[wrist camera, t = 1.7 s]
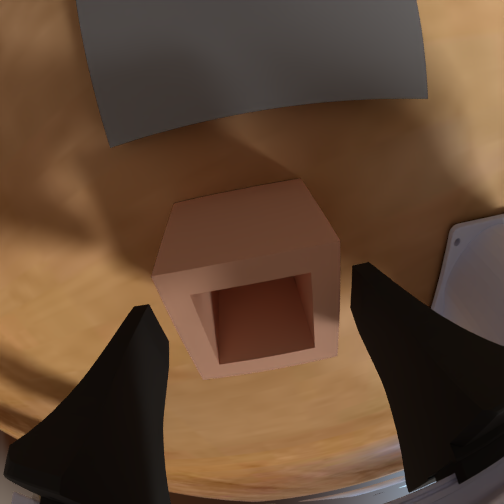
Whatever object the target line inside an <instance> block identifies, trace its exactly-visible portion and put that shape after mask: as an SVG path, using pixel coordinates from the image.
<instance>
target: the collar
mask: <svg viewBox="0 0 504 504" xmlns="http://www.w3.org/2000/svg"><path fill="white" fill-rule="evenodd" d="M151 277H152V280H153V282H154V284H155V286H156V288H157V291H158V293H159V295H160V297H161V299H162V301H163V303H164V305H165V308H166V310H167V312H168V314H169V316H170V318H171V320H172V322H173V324H174V326H175V328H176V330H177V332H178V334H179V336H180V338H181V340H182V342H183V344H184V345H185V347H186V349H187V351H188V353H189V355H190V357H191V359H192V360H193V362H194V364H195V366H196V368H197V370H198V371H199V373H200V375H201V377H202V379H203V380H205V379H214V378H222V377H229V376H236V375H243V374H249V373H256V372H262V371H267V370H273V369H279V368H284V367H289V366H294V365H299V364H304V363H309V362H313V361H318V360H322V359H327V358H331V357H335V356H337V353H338V336H339V313H340V239H339V238H338V236H337V234H336V233H335V231H334V229H333V228H332V226H331V225H330V223H329V221H328V220H327V218H326V217H325V215H324V213H323V212H322V210H321V209H320V207H319V206H318V204H317V202H316V201H315V199H314V198H313V196H312V195H311V193H310V192H309V190H308V189H307V187H306V186H305V184H304V182H303V181H302V179H301V178H300V179H294V180H288V181H282V182H276V183H271V184H265V185H260V186H254V187H249V188H244V189H239V190H234V191H229V192H224V193H219V194H214V195H209V196H205V197H200V198H195V199H191V200H186V201H182V202H178V203H174V205H173V208H172V211H171V214H170V217H169V220H168V223H167V226H166V229H165V232H164V235H163V238H162V242H161V245H160V248H159V251H158V255H157V258H156V261H155V265H154V268H153V272H152V275H151Z"/></svg>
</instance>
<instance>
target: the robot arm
mask: <svg viewBox="0 0 504 504" xmlns="http://www.w3.org/2000/svg"><path fill="white" fill-rule="evenodd" d="M350 308H351V311H352V314H353V317H354V320H355V323H356V326H357V329H358V331H359V334H360V336H361V338H362V340H363V342H364V344H365V346H366V349H367V351H368V353H369V355H370V357H371V359H372V361H373V363H374V366H375V368H376V370H377V372H378V374H379V376H380V379H381V381H382V383H383V386H384V389H385V391H386V395H387V398H388V401H389V404H390V408H391V411H392V415H393V419H394V422H395V426H396V430H397V435H398V439H399V444H400V449H401V453H402V459H403V466H404V472H405V480H406V485H407V488H408V492H412V491H414V490H417V489H419V488H422V487H424V486H426V485H428V484H430V483H432V482H435V481H436V483H434V484H431V485H429V486H427V487H425V488H423V489H420V490H418V491H416V492H413V493H411V494H408V495H406V496H404V497H401V498H398V499H396V500H393V501H390V502H387V503H384V504H504V214H500V215H496V216H491V217H487V218H482V219H477V220H473V221H468V222H464V223H459V224H456V225H454V226H453V227H452V228H451V229H450V232H449V236H448V241H447V246H446V251H445V256H444V260H443V264H442V269H441V273H440V277H439V281H438V285H437V288H436V292H435V296H434V299H433V303H432V306H431V308H429V307H428V306H426V305H425V304H423V303H422V302H421V301H419V300H418V299H416V298H415V297H414V296H412V295H411V294H409V293H408V292H407V291H405V290H404V289H403V288H401V287H400V286H399V285H398V284H396V283H395V282H394V281H392V280H391V279H390V278H388V277H387V276H386V275H385V274H383V273H382V272H381V271H380V270H378V269H377V268H376V267H374V266H373V265H372V264H370V263H369V262H367V263H362V264H358V265H353V266H352V289H351V306H350ZM168 371H169V341H168V339H167V337H166V335H165V333H164V331H163V330H162V328H161V326H160V324H159V322H158V320H157V318H156V317H155V315H154V313H153V311H152V309H151V307H150V305H149V304H147V305H141V306H135V307H133V309H132V310H131V311H130V313H129V314H128V316H127V317H126V318H125V320H124V321H123V323H122V324H121V326H120V327H119V329H118V330H117V332H116V333H115V335H114V336H113V338H112V339H111V341H110V342H109V343H108V345H107V346H106V348H105V349H104V351H103V352H102V354H101V355H100V356H99V358H98V359H97V360H96V362H95V363H94V364H93V366H92V367H91V369H90V370H89V371H88V373H87V374H86V375H85V376H84V378H83V379H82V380H81V381H80V383H79V384H78V385H77V386H76V387H75V388H74V390H73V391H72V392H71V393H70V394H69V395H68V396H67V397H66V398H65V399H64V400H63V401H62V402H61V403H60V404H59V405H58V406H57V407H56V409H55V410H54V411H53V412H52V413H50V414H49V415H48V416H47V417H46V418H45V419H44V420H43V421H42V422H40V423H39V424H38V425H37V426H36V427H34V428H33V429H32V430H31V431H29V432H28V433H27V434H25V435H24V436H22V437H21V438H20V439H18V440H17V441H15V442H14V443H13V444H11V445H10V446H9V450H8V454H7V459H6V464H5V469H4V476H5V477H6V478H7V479H8V480H10V481H12V482H14V483H15V484H17V485H19V486H21V487H23V488H25V489H27V490H29V491H31V492H33V493H35V494H37V495H40V496H41V498H40V501H37V500H35V499H32V498H30V497H27V496H25V495H22V494H20V493H17V492H13V497H12V503H11V504H171V502H170V497H169V492H168V485H167V478H166V470H165V459H164V443H163V417H164V407H165V398H166V389H167V380H168Z"/></svg>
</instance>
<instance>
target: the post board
mask: <svg viewBox="0 0 504 504" xmlns="http://www.w3.org/2000/svg"><path fill="white" fill-rule="evenodd" d="M76 4H77V11H78V17H79V23H80V28H81V34H82V39H83V44H84V49H85V54H86V59H87V63H88V67H89V72H90V76H91V80H92V84H93V88H94V92H95V96H96V100H97V104H98V108H99V111H100V115H101V118H102V122H103V125H104V129H105V132H106V136H107V139H108V142H109V145H110V148H111V147H114V146H117V145H121V144H124V143H127V142H130V141H133V140H136V139H140V138H143V137H146V136H150V135H153V134H157V133H160V132H164V131H168V130H171V129H175V128H179V127H183V126H187V125H191V124H195V123H200V122H204V121H209V120H213V119H218V118H223V117H228V116H233V115H238V114H243V113H249V112H255V111H261V110H267V109H273V108H280V107H287V106H295V105H303V104H312V103H322V102H333V101H347V100H364V99H428V90H427V75H426V63H425V53H424V45H423V37H422V30H421V23H420V17H419V12H418V6H417V1H416V0H76Z"/></svg>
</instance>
